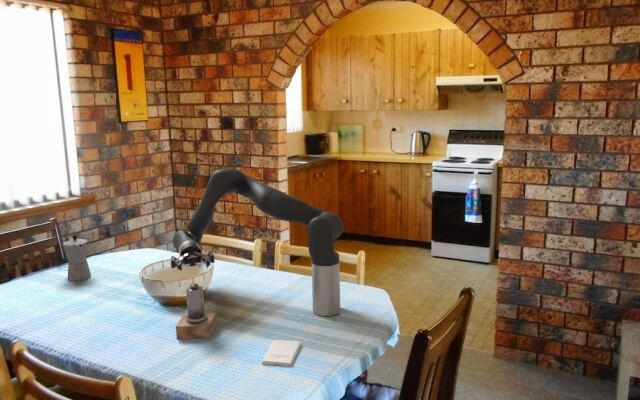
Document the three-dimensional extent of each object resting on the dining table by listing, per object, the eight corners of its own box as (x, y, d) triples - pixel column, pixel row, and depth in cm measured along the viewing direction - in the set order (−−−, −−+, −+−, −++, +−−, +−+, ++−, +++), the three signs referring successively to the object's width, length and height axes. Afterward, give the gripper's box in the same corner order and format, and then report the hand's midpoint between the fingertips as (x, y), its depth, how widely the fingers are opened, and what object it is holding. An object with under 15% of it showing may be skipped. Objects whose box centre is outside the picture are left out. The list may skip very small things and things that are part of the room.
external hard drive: (301, 346, 155) (290, 368, 143) (274, 344, 156) (261, 365, 144) (300, 341, 154) (290, 362, 142) (273, 339, 156) (261, 360, 144)
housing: (209, 314, 167) (207, 281, 165) (204, 323, 161) (201, 288, 158) (189, 314, 167) (186, 281, 165) (183, 323, 161) (180, 288, 159)
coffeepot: (97, 278, 215) (92, 235, 211) (73, 284, 208) (68, 240, 205) (82, 269, 226) (78, 229, 222) (59, 275, 219) (54, 233, 216)
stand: (216, 324, 169) (216, 312, 169) (209, 338, 160) (208, 326, 159) (186, 324, 170) (185, 312, 169) (176, 338, 160) (175, 326, 159)
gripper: (168, 245, 184) (170, 257, 169) (209, 240, 188) (215, 251, 173) (170, 265, 185) (172, 280, 170) (211, 260, 189) (217, 273, 174)
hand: (194, 265), depth 171 cm, fingers open, 8 cm apart
